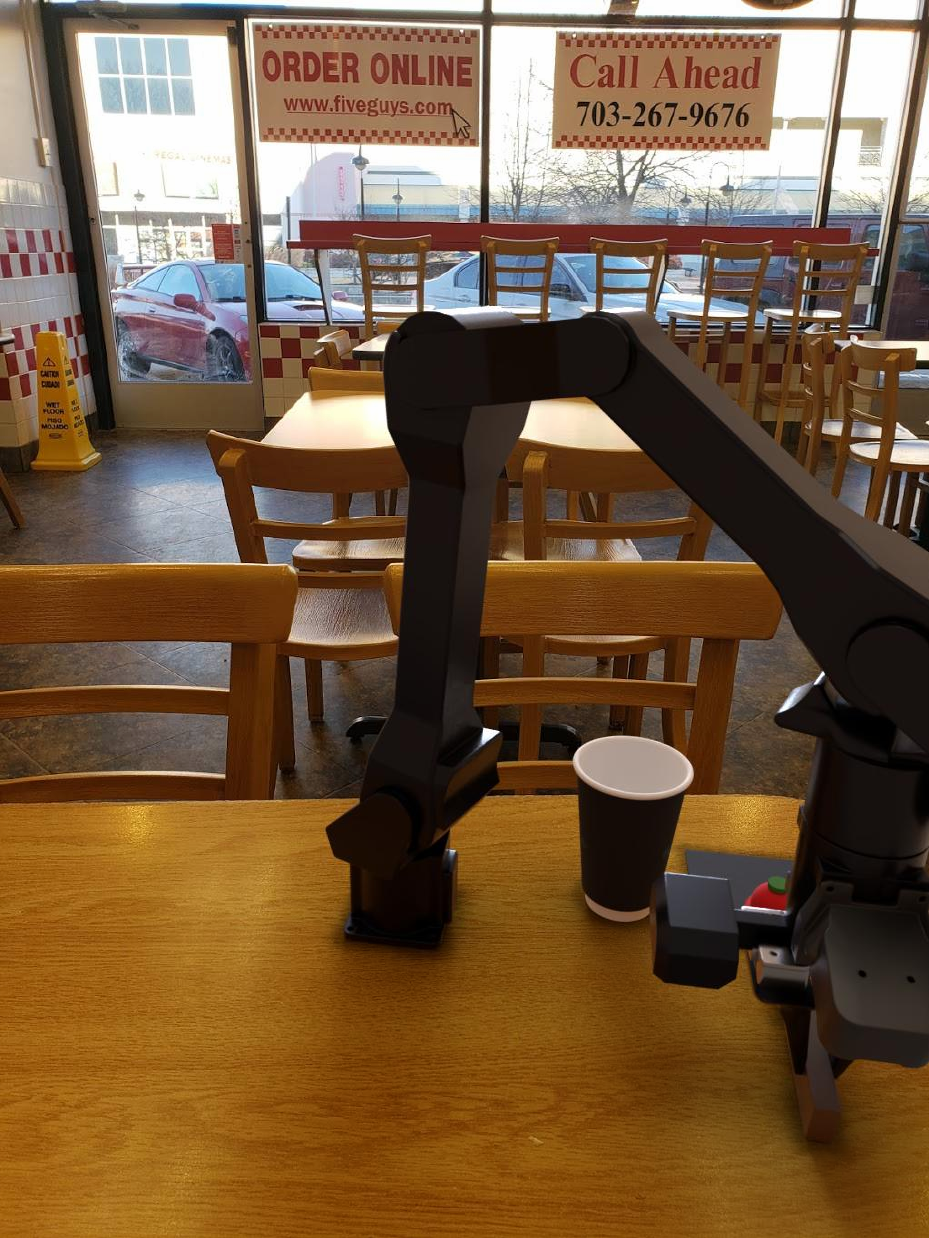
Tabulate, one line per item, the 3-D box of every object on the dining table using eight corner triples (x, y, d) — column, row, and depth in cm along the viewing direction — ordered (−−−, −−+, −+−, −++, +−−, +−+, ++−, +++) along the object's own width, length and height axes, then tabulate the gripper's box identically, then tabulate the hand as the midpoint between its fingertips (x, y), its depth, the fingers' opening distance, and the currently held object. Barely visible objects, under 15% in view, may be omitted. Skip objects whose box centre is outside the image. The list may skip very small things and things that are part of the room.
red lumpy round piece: (746, 942, 62) (754, 895, 61) (740, 909, 66) (748, 864, 64) (802, 949, 62) (811, 902, 61) (794, 915, 65) (802, 870, 64)
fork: (850, 1146, 48) (859, 1114, 47) (787, 1137, 49) (796, 1105, 48) (800, 929, 62) (807, 901, 60) (752, 924, 62) (758, 895, 61)
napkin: (696, 937, 63) (696, 936, 63) (685, 850, 72) (685, 849, 72) (851, 955, 62) (852, 954, 62) (820, 864, 71) (820, 863, 71)
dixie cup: (699, 920, 65) (719, 781, 60) (599, 949, 62) (613, 805, 58) (635, 855, 71) (649, 727, 67) (543, 879, 68) (551, 746, 64)
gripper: (677, 909, 39) (641, 1179, 44) (1169, 965, 36) (1064, 1243, 42) (664, 772, 49) (636, 1006, 55) (1046, 809, 47) (975, 1049, 52)
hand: (813, 1070), depth 51 cm, fingers closed on fork, 1 cm apart
